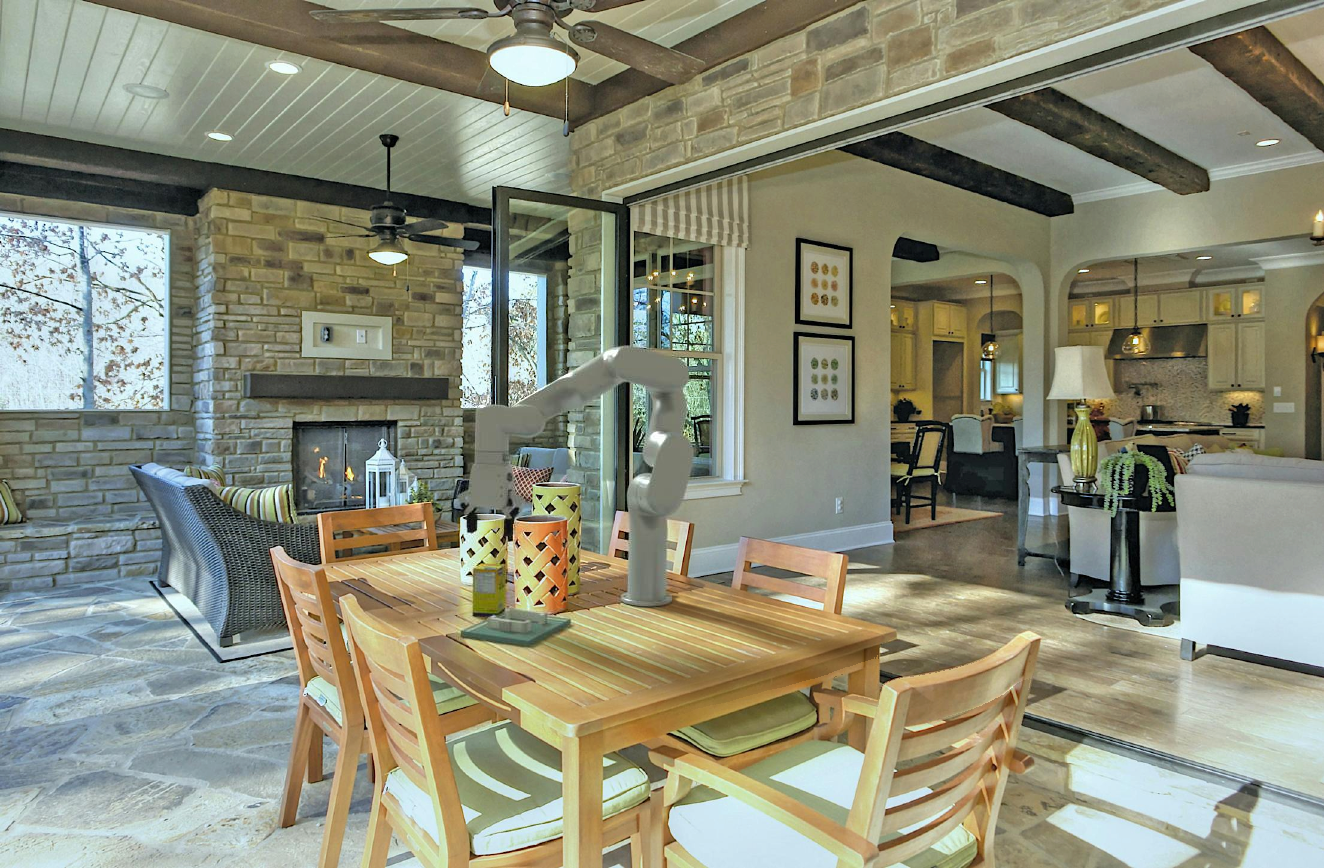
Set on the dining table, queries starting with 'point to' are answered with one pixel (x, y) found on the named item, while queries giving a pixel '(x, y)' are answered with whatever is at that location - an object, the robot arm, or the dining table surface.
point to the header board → (516, 627)
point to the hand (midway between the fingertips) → (490, 533)
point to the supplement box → (488, 589)
